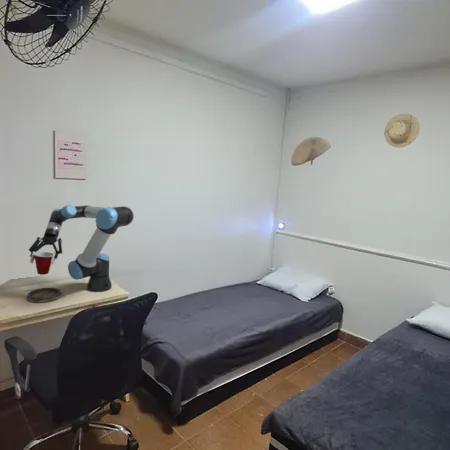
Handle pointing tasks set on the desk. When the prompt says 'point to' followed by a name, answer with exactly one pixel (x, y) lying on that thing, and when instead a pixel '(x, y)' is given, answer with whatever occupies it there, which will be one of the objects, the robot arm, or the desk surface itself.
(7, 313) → the desk surface
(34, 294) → the cup holder
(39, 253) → the plastic cup
